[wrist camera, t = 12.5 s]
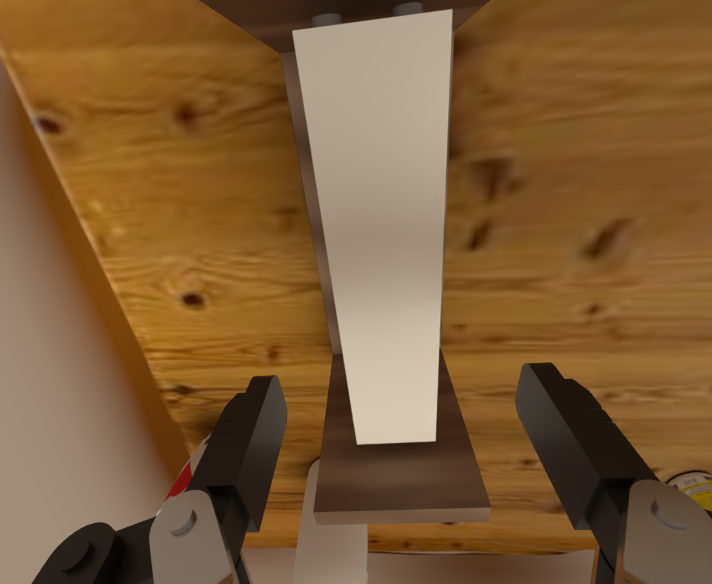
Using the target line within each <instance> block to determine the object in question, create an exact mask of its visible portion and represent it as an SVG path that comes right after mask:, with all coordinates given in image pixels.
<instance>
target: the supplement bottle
mask: <svg viewBox="0 0 712 584" xmlns="http://www.w3.org/2000/svg"><path fill="white" fill-rule="evenodd" d="M668 484H669V485H671V486H673V487H675V488H677V489H679V490H680V491H682V492H684V493H685V494H687V495H688V496H690V497H691V498H692V499H693V500H695V501H696V502H697V503H698V504H699V505H700V506H701V507H702V508H703V509H706V510H709V511H712V476H711V475H709V474H706V473H701V472H693V473H687V474H683V475H680V476H678V477H676V478H674V479H673V480H671V481H670V482H669V483H668Z"/></svg>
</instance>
